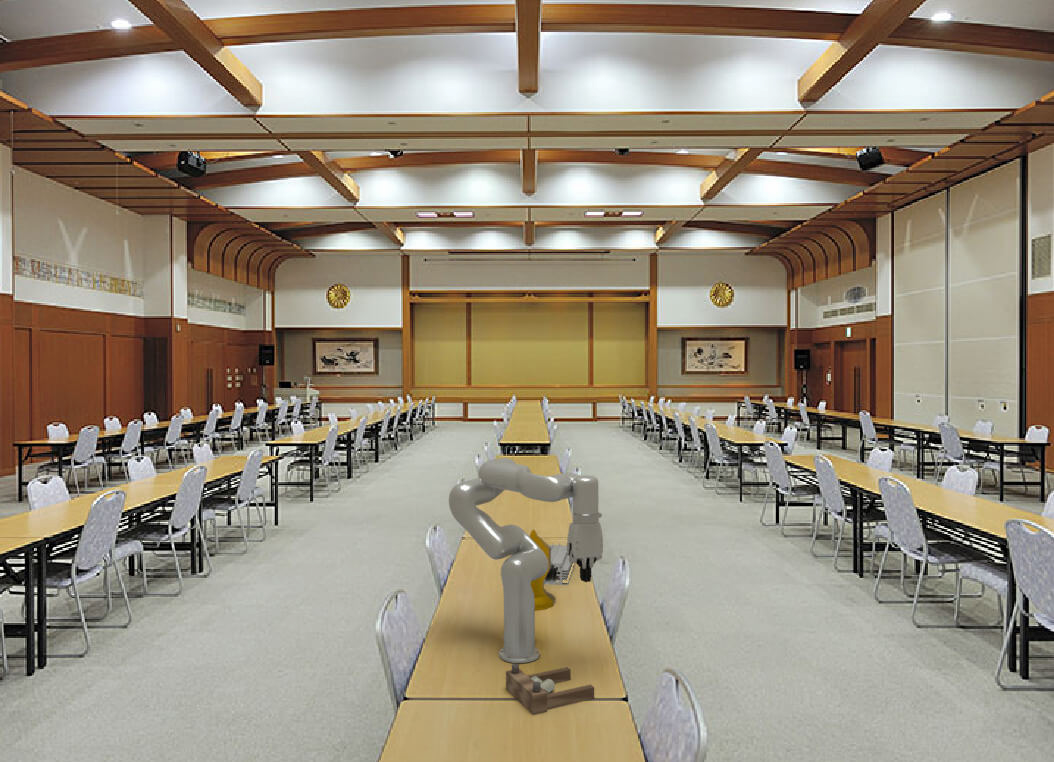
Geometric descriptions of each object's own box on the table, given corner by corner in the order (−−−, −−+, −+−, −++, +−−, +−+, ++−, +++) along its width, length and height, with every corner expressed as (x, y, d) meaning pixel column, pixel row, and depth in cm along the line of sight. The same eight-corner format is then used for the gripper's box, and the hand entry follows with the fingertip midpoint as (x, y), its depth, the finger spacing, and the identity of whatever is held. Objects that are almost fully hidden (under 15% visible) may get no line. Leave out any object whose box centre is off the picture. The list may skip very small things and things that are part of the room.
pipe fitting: (551, 689, 207) (528, 689, 205) (552, 675, 207) (529, 675, 205) (559, 701, 199) (535, 702, 197) (560, 687, 199) (536, 688, 197)
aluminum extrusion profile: (574, 566, 333) (574, 544, 332) (567, 586, 302) (567, 561, 302) (543, 564, 335) (543, 542, 335) (533, 584, 305) (533, 560, 304)
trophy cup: (496, 609, 273) (496, 534, 272) (525, 591, 294) (525, 521, 294) (538, 616, 265) (538, 539, 264) (566, 597, 287) (566, 525, 286)
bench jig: (505, 688, 205) (505, 663, 205) (565, 676, 214) (565, 652, 214) (533, 714, 190) (533, 687, 190) (596, 699, 199) (596, 674, 198)
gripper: (600, 513, 222) (600, 574, 222) (556, 518, 215) (557, 580, 216) (614, 518, 215) (614, 580, 216) (569, 523, 209) (569, 587, 209)
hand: (585, 580), depth 216 cm, fingers closed
